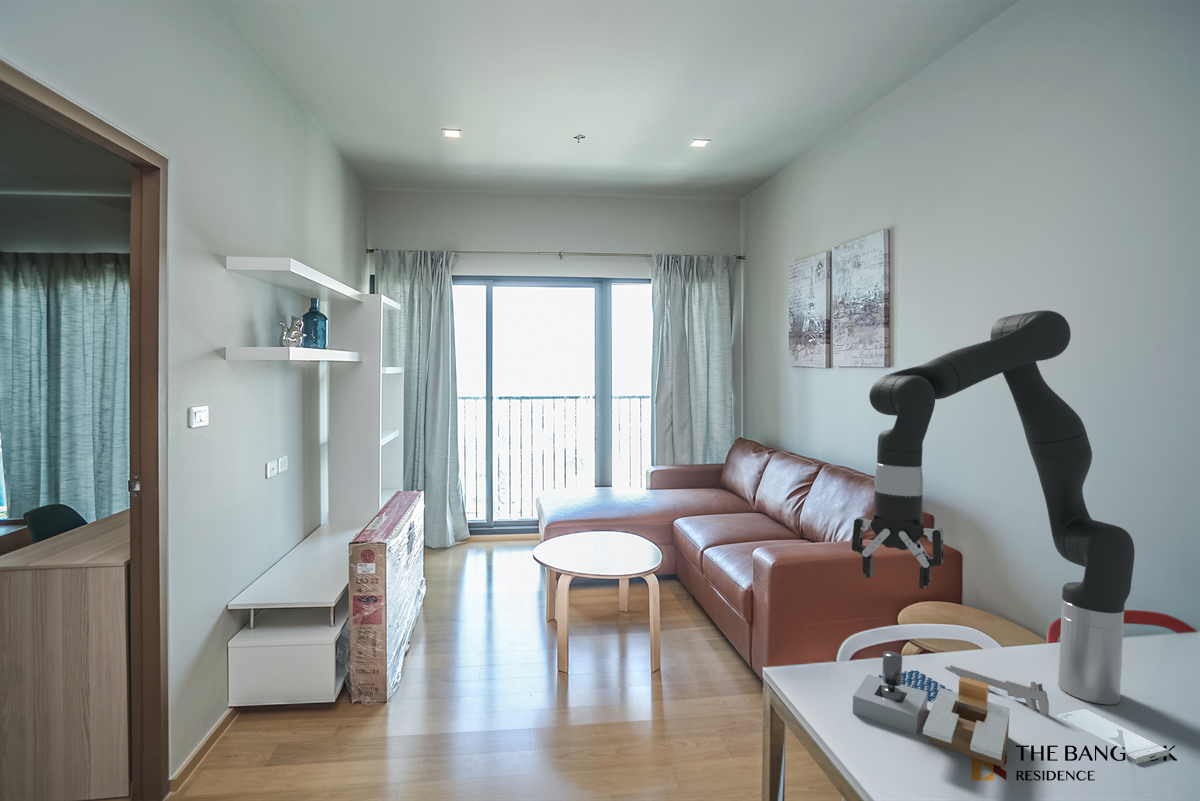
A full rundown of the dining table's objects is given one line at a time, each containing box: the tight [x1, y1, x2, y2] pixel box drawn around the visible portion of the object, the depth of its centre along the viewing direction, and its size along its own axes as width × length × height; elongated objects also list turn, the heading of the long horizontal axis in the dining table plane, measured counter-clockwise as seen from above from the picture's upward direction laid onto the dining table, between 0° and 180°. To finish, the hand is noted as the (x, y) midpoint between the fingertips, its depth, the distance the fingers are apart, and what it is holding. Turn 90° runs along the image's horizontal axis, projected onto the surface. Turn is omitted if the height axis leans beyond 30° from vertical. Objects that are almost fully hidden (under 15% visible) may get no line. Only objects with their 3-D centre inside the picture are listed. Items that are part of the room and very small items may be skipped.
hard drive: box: [1055, 708, 1170, 765], centre depth 100 cm, size 2×8×12 cm
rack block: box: [852, 674, 929, 735], centre depth 105 cm, size 10×10×4 cm
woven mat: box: [878, 669, 954, 703], centre depth 114 cm, size 10×11×2 cm
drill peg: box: [881, 650, 903, 703], centre depth 105 cm, size 3×3×10 cm
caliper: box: [944, 664, 1050, 717], centre depth 115 cm, size 20×1×6 cm, turn 18°
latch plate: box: [922, 676, 1010, 760], centre depth 95 cm, size 16×10×4 cm, turn 142°
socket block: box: [928, 705, 1010, 768], centre depth 97 cm, size 10×10×5 cm
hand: (895, 582), depth 105 cm, fingers open, 8 cm apart
